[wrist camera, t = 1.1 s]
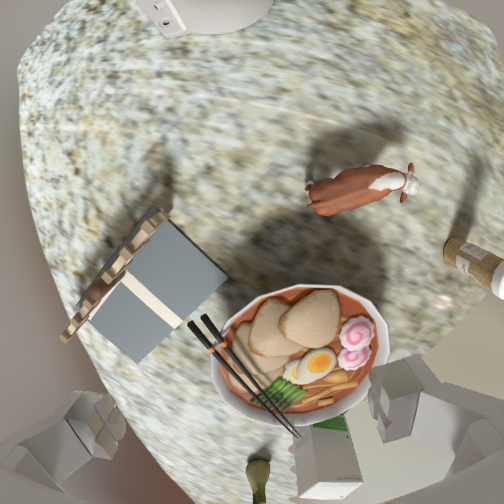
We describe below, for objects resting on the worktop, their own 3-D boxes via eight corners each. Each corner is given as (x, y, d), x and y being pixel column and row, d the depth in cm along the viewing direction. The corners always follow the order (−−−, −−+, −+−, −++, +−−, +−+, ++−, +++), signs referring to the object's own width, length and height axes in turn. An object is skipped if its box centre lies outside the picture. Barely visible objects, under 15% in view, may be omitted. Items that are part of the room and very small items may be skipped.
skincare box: (345, 414, 46) (367, 481, 31) (327, 435, 47) (343, 500, 32) (305, 408, 45) (319, 482, 30) (288, 430, 46) (297, 500, 32)
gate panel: (129, 265, 36) (108, 284, 30) (122, 259, 36) (100, 277, 30) (170, 216, 34) (154, 228, 28) (163, 209, 34) (145, 220, 28)
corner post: (111, 270, 37) (85, 292, 30) (118, 260, 37) (93, 281, 30) (121, 279, 38) (97, 303, 30) (129, 270, 37) (105, 293, 30)
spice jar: (438, 261, 37) (495, 298, 24) (447, 232, 36) (509, 261, 23) (458, 267, 38) (513, 302, 25) (466, 239, 36) (525, 268, 24)
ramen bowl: (390, 356, 42) (410, 387, 34) (266, 414, 45) (268, 451, 37) (332, 220, 36) (354, 236, 28) (178, 304, 39) (162, 336, 31)
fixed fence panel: (86, 320, 39) (65, 344, 33) (81, 314, 39) (59, 338, 32) (114, 283, 37) (92, 305, 31) (108, 277, 37) (85, 298, 31)
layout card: (75, 307, 39) (74, 308, 39) (153, 205, 35) (152, 206, 35) (138, 362, 42) (137, 364, 41) (228, 276, 38) (228, 278, 37)
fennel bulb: (256, 470, 51) (257, 514, 39) (239, 463, 50) (238, 509, 38) (275, 460, 50) (279, 507, 38) (258, 453, 49) (259, 501, 37)
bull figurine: (398, 191, 35) (432, 199, 27) (301, 212, 35) (315, 225, 28) (392, 158, 33) (426, 159, 25) (293, 176, 34) (306, 180, 26)
